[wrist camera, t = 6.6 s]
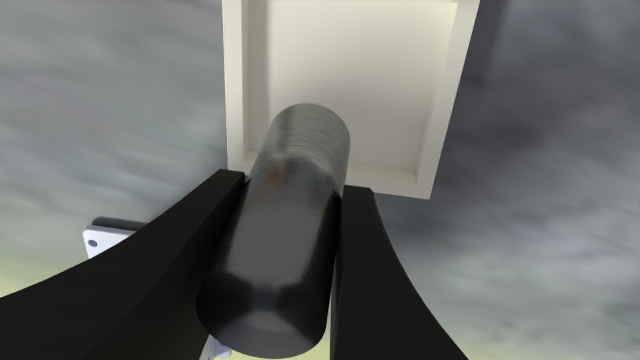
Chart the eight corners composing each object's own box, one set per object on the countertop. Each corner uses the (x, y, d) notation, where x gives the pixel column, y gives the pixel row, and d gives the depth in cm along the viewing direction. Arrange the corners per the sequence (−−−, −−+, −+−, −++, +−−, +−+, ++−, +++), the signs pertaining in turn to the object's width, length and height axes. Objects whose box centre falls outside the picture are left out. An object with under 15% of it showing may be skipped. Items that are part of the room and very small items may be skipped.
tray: (427, 180, 23) (429, 199, 21) (236, 155, 23) (228, 172, 22) (477, -26, 18) (484, -16, 16) (232, -52, 18) (220, -45, 17)
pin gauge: (350, 177, 15) (327, 363, 9) (272, 174, 15) (206, 353, 10) (351, 104, 13) (324, 272, 8) (265, 101, 14) (184, 263, 8)
